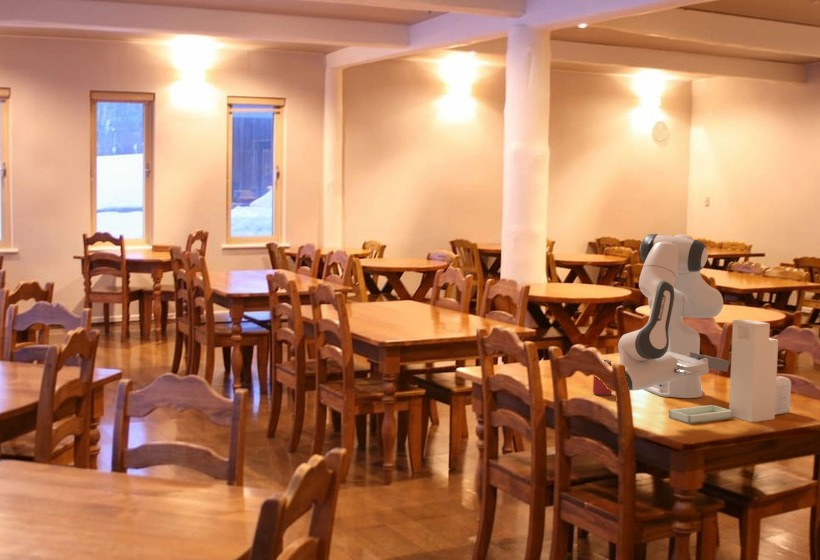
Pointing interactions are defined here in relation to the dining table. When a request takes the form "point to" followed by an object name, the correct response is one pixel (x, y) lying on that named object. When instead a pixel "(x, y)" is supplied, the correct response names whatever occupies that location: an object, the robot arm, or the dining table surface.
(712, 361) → the drive caddy
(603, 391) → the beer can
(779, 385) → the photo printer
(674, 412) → the tray
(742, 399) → the white dispenser tower
